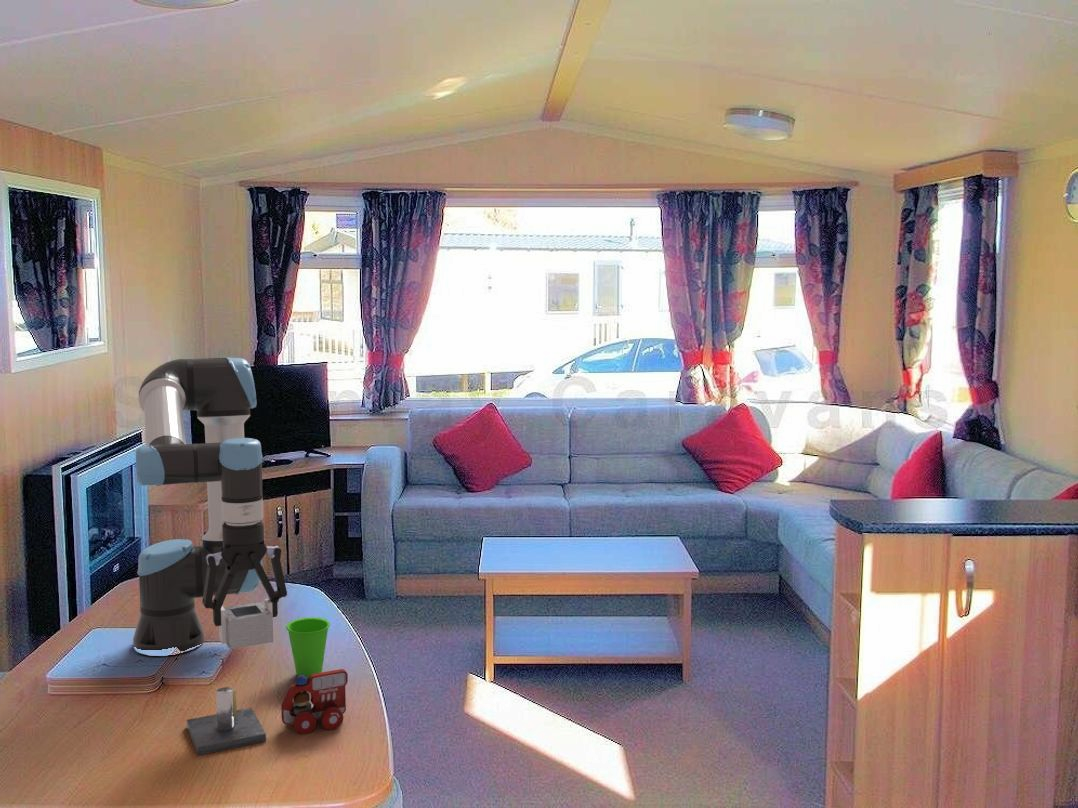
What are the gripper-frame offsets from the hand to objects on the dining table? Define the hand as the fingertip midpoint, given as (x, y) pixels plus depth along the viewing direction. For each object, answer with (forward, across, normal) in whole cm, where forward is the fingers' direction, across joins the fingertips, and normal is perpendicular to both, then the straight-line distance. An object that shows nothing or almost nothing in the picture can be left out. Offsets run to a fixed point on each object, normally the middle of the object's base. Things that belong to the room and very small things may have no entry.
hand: (246, 637), depth 195 cm
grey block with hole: (0, 0, 0) cm, 0 cm away
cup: (+16, +16, +14) cm, 26 cm away
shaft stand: (+16, -6, -6) cm, 18 cm away
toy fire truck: (+16, +10, -9) cm, 21 cm away
